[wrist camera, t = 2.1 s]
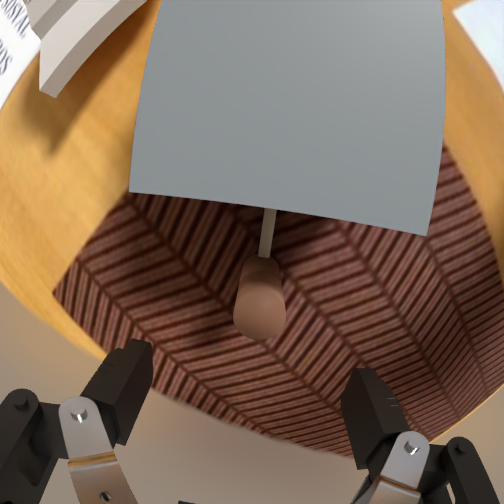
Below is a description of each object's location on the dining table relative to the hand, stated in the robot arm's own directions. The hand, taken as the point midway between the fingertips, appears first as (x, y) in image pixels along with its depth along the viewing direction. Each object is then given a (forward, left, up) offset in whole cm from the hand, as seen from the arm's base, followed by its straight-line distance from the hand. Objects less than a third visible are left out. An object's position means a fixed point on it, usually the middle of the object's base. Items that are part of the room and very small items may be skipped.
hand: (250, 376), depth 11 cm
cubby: (0, -12, -12) cm, 17 cm away
